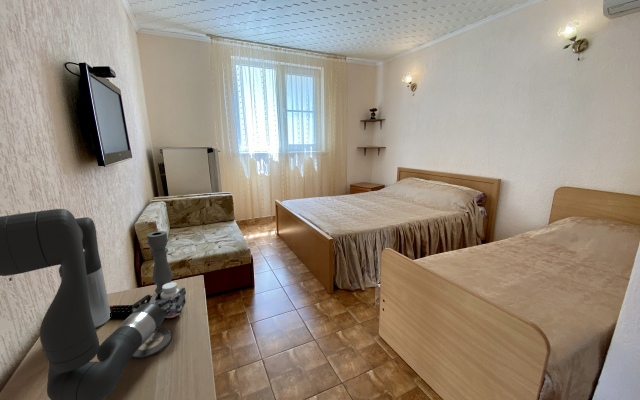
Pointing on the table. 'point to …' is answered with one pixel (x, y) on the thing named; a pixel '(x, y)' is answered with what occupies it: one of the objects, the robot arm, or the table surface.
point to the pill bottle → (168, 291)
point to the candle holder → (159, 259)
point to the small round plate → (154, 343)
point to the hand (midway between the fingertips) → (174, 290)
